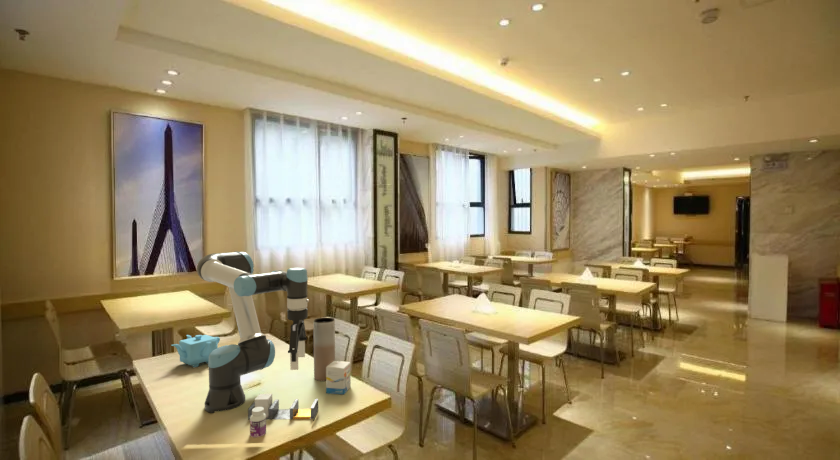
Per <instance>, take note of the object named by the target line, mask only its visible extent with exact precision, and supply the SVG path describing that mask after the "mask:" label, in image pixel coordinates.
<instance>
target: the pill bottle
mask: <svg viewBox="0 0 840 460" xmlns="http://www.w3.org/2000/svg"><path fill="white" fill-rule="evenodd" d="M266 434H267V420H266V414H265V413H264V408H263V407H255V408H253V409H252V415H251V417H250V420H249V435H250V437H251V438H260V437H263V436H264V435H266Z"/></svg>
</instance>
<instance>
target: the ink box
mask: <svg viewBox="0 0 840 460" xmlns="http://www.w3.org/2000/svg"><path fill="white" fill-rule="evenodd" d="M351 379H352V378H351V362H350V361H344V360H335V361H333V362H332V363H331V364H329V365H328V366H327V367H326V381H325V384H326V385H325V391H326V392H325V393H326V394H332V395H346V393H347V392H348V390H350V389H351V383H352V382H351Z"/></svg>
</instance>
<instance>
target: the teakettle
mask: <svg viewBox="0 0 840 460" xmlns="http://www.w3.org/2000/svg"><path fill="white" fill-rule="evenodd" d="M220 340H221V338H220V337H219V336H211V335H209V334H203V335H202V334H196V335H194V336H193V337H192V335H190V334H186V339H181V340H178V343H179V344H178V343H175V344H171V346H172V347H175V349H176V350H177V353H178V355H179V362H181V363H184V364H185V365H186V364H188V365H187V366H191V367H192V368H198V367H199V366H200V364H202V363H206V364H208V362H209V355H210V353H211V352H212V351H213V350H215V349H217V348H219V347H218V345H219V343H220Z"/></svg>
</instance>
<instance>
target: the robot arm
mask: <svg viewBox="0 0 840 460" xmlns="http://www.w3.org/2000/svg"><path fill="white" fill-rule="evenodd" d="M254 267H255V264H254V261H253V259H252V256H250V254H248V253H247V252H245V251H231V252H218V253H216V252H215V253H210V254H209V253H208V254H207V255H204V256H203V257H201V259H199V261H198V262H197V265H196V273H197V275H198V276H199V278H200V279H201V280H204V281H206V282H208V283H214V282H215V283H218V284H221V285H223V286H226V287H228V291H229V295H230V300H231V304H232V309H233V312H234V317H235V321H236V326H237V329H238V333H239V338H240V339H239V341H238V343H237V344H233V343H231V344H229V345H228V344H227V345H226V344H225V345H222V346H219V347H218V348H217V349H215V350H213V351H212V352H211V353H210V355H209V362H208V363H207V366H208V391H207V395H206V398H205V402H204V411H206V412H207V413H210V414H214V413H216V412H225V411H230V410H234V409H235V408H238V407H240V406H242V405H243V404H244V403H245V402H246V394H245V392H244V389H243V387H242V385H241V376H244V375H247V374H250V373H254V372H257V371H261V370H264V369H266V368H268V367H270V366H271V365H272V364H273V363H274V361H275V358H276V347H275V344H274V342H273V341H272V340H271V339H268V338H267V336H266V334H264V333H263V332H262V331H261V327H260V323H259V318H258V314H257V311H256V307H255V302H254V299H253V296H255V295H260V294H267V293H272V292H280V291H282V292H286V308H287V311H286V312H287V313H286V314H287V317H286V318H287V320H289V321H292V324H291V325H290V335H289V348H288V351H287V353H288V354H289V355H290V358H289V359H290V364H289V365H290V371H298V370H299V358H305V357H306V341H307V340H308V337H307V336H306V335H307V334H306V326H305V320H306V319H307V318H308V317H309V314H308V303H309V302H310V300H309V299H308V280H309V277H308V270H307V268H304V267H290V268H288V269H287V270H286V271H284V270H273V271H270V272H265V273H255V274H254Z"/></svg>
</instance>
